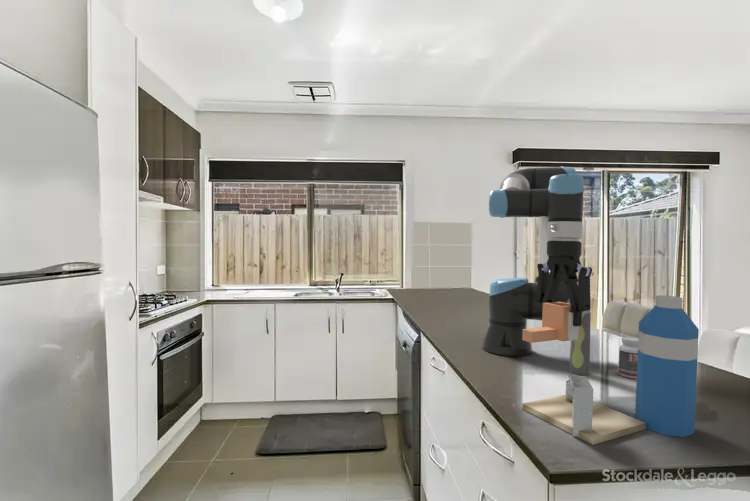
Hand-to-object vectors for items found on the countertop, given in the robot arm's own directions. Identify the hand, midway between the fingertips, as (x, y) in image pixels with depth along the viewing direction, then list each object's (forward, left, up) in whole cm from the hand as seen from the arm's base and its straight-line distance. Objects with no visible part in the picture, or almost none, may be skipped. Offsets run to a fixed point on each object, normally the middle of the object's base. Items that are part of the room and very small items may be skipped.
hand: (560, 335), depth 98 cm
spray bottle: (-6, +15, -13) cm, 20 cm away
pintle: (+9, -7, -11) cm, 16 cm away
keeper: (+17, -15, -12) cm, 25 cm away
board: (+14, -11, -12) cm, 22 cm away
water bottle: (+23, +2, -13) cm, 26 cm away
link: (0, -4, 0) cm, 4 cm away
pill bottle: (+1, +26, -13) cm, 29 cm away
